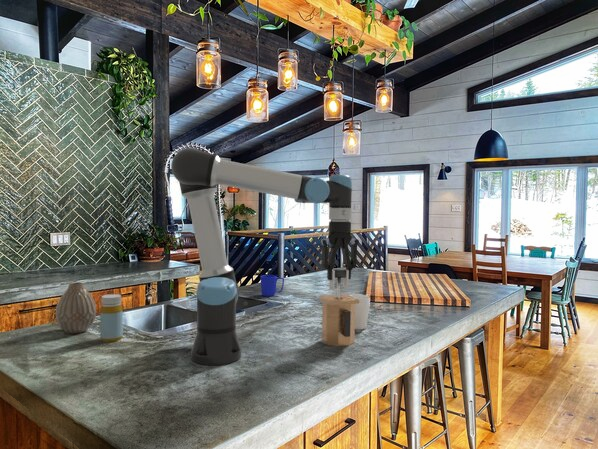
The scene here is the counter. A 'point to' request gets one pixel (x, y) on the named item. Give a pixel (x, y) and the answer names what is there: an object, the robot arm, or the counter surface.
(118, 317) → the bottle
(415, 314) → the counter surface
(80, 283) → the vase
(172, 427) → the counter surface
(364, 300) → the cup
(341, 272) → the plunger
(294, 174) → the robot arm
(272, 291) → the mug
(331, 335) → the block
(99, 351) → the counter surface
